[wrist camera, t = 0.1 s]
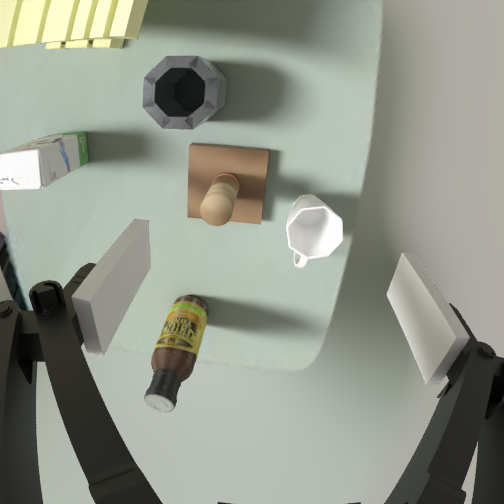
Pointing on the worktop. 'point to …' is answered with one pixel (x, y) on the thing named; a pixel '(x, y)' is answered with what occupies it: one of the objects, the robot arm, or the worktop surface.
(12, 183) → the ink box
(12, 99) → the worktop surface
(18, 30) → the slatted curved stool
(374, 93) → the worktop surface
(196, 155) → the post
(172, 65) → the grey hollow octagonal piece
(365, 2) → the worktop surface
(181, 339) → the sauce bottle
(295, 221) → the cup
